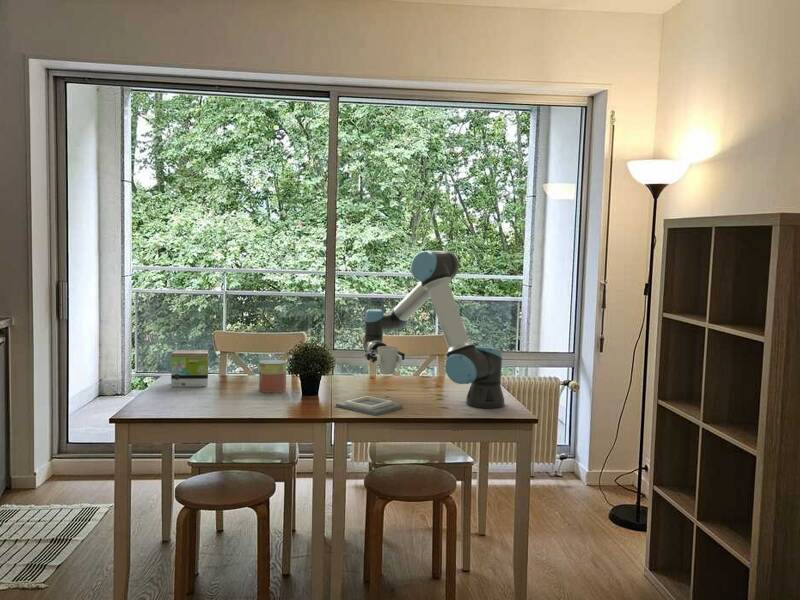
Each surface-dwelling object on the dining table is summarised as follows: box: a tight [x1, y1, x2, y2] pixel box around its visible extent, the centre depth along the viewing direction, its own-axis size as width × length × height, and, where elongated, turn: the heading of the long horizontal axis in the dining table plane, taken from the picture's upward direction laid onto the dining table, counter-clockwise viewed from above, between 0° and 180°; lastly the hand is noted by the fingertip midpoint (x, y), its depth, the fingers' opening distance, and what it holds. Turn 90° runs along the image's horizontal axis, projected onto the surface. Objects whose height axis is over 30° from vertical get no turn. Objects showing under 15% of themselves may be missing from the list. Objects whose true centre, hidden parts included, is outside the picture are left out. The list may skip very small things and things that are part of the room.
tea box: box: [170, 349, 209, 388], centre depth 318 cm, size 15×10×15 cm, turn 104°
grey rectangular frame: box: [335, 395, 403, 416], centre depth 286 cm, size 20×16×2 cm
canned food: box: [258, 358, 287, 393], centre depth 312 cm, size 11×11×12 cm
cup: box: [378, 345, 399, 375], centre depth 288 cm, size 8×8×10 cm
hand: (390, 360), depth 283 cm, fingers closed on cup, 8 cm apart
